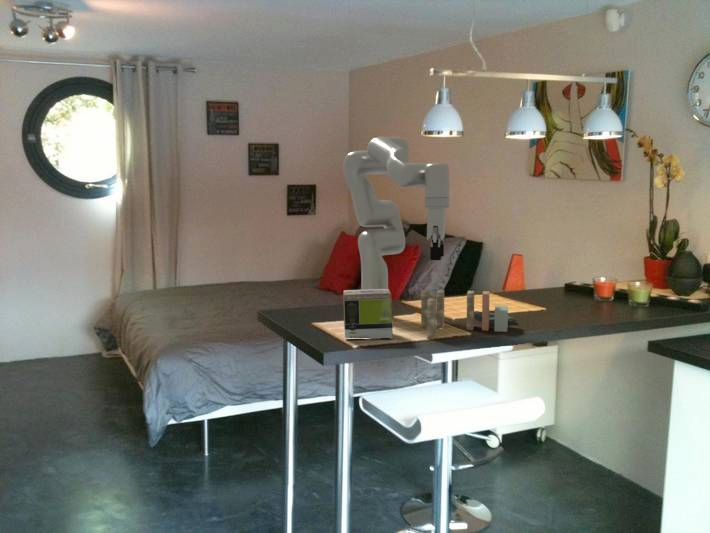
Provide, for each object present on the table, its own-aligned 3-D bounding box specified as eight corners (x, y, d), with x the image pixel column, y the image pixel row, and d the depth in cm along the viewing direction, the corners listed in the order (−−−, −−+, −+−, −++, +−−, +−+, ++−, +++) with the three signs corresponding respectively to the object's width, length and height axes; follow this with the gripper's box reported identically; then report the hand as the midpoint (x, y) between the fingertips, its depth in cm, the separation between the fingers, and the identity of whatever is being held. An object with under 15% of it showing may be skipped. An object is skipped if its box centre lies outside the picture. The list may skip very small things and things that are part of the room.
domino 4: (466, 329, 236) (466, 293, 234) (468, 325, 242) (468, 290, 240) (472, 330, 235) (473, 293, 234) (474, 326, 241) (474, 290, 240)
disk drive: (471, 319, 256) (487, 327, 241) (471, 311, 255) (487, 319, 241) (498, 317, 258) (516, 325, 243) (498, 309, 257) (516, 317, 243)
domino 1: (421, 328, 239) (421, 292, 238) (423, 324, 245) (423, 289, 243) (427, 328, 239) (427, 292, 237) (429, 324, 245) (429, 289, 243)
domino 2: (427, 338, 224) (427, 301, 222) (429, 334, 230) (429, 297, 228) (433, 339, 223) (433, 301, 222) (436, 334, 229) (436, 297, 228)
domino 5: (482, 330, 235) (482, 294, 233) (483, 326, 240) (483, 291, 239) (488, 330, 234) (488, 294, 233) (489, 326, 240) (489, 291, 238)
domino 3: (436, 328, 238) (436, 293, 237) (438, 324, 244) (438, 290, 242) (442, 328, 238) (442, 293, 236) (444, 325, 243) (444, 290, 242)
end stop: (494, 331, 233) (494, 310, 232) (495, 326, 241) (495, 305, 240) (507, 331, 232) (507, 310, 231) (507, 326, 240) (507, 305, 239)
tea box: (390, 332, 233) (389, 287, 231) (392, 339, 223) (392, 293, 221) (343, 333, 233) (343, 288, 231) (344, 340, 223) (343, 294, 221)
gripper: (427, 202, 232) (428, 255, 234) (421, 204, 215) (422, 261, 217) (451, 202, 230) (451, 255, 232) (447, 204, 213) (447, 261, 215)
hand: (437, 258), depth 225 cm, fingers open, 9 cm apart
